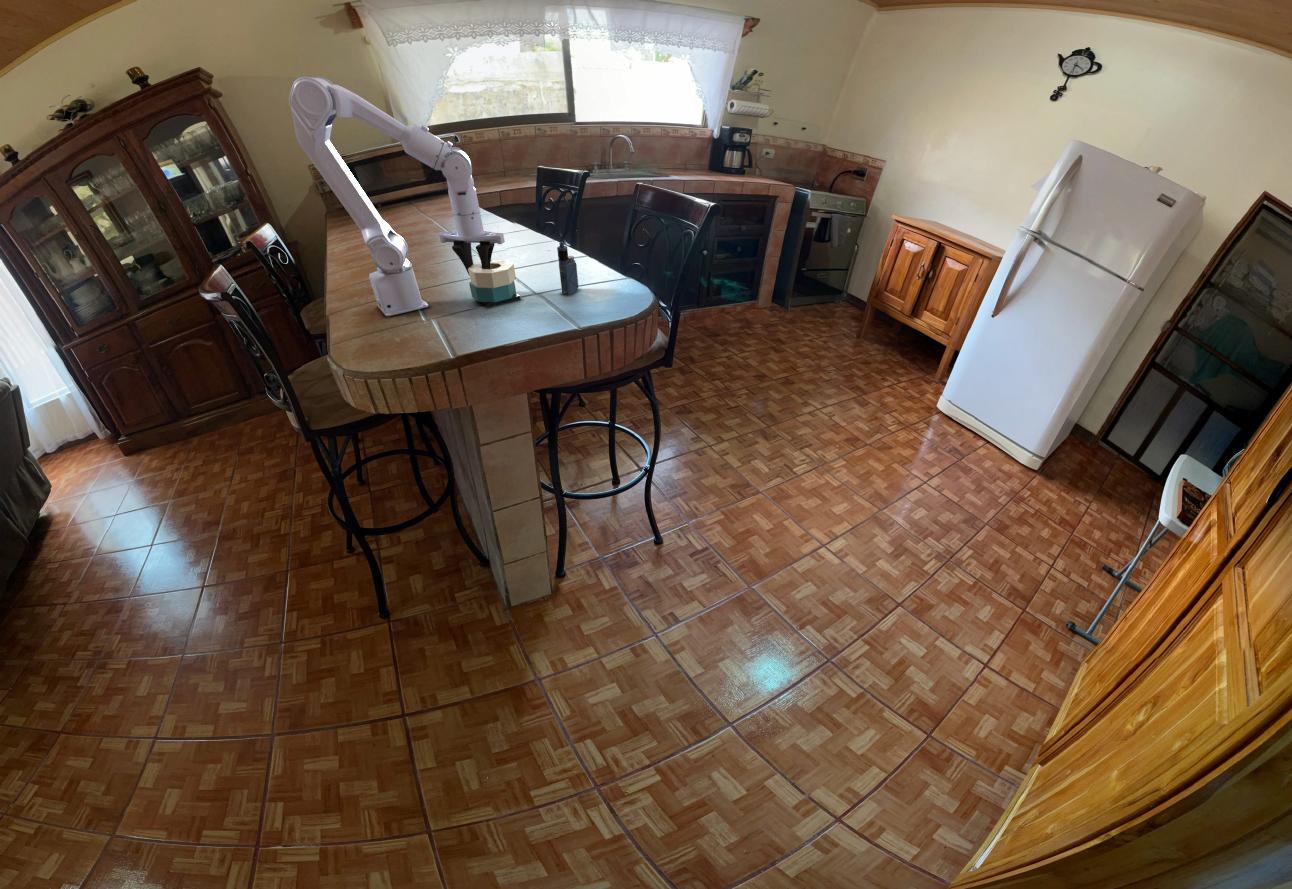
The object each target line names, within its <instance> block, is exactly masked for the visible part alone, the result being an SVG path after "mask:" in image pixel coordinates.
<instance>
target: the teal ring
mask: <svg viewBox="0 0 1292 889" xmlns="http://www.w3.org/2000/svg"><path fill="white" fill-rule="evenodd" d="M468 285H469V290H470V293H471V297H472V298H473V299H474V300H475V301H477V302H478V303H482V302H498V301H502V300H506V299H510V298H511V297H512V296H513V295H514V294H515V293H516V294H517V289H516V283H515V280H514V281H513V282H512V283H511V284H509V285H505V286H500V287H496V288H481V287H476V286H475V285H474V284H472V283H471V281H469V282H468Z"/></svg>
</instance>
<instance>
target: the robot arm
mask: <svg viewBox="0 0 1292 889" xmlns="http://www.w3.org/2000/svg"><path fill="white" fill-rule="evenodd" d="M288 104H289V107H290V110H291V113H292V118H293V120H292V121H293V126H294V132H295V137H296V140H297V142H298V144H299V146H300V147H301V149H302V150H303V151H304V153H305V154H306V155H307V157H308V158H309V160H310V161H311V162H312V164H313V166H314V167H315V168H316V170H317V171H318V173H319V174H320V175H321V176H322V178H323V179H324V181H325V182H326V184H327V185H328V187H329V188H330V189H331V191H332V192H333V194H334V195H335V196H336V198H337V199H338V200H339V202H340V203H341V205H342V207H344V209H345V211H346V212H347V213H348V214H349V216H350V217H351V219H352V220H353V222H354V223H355V224H356V226H357V227H358V229H359V230H360V231H361V235H362V238H363V241H364V244H365V246H366V247H367V248H368V250H369V252H370V256H371V257H370V258H371V260H372V262H373V264H374V265H375V266H376V269H377V270H376V271H374V272H371V273H368V278H369V283H370V286H371V288H372V291H373V294H374V297H375V301H376V304H377V307H378V308H379V309H380V311H381V312H382V313H383V314H384V315H385V317H391V316H396V315H400V314H405V313H410V312H412V311H413V312H414V311H418V310H421V309H425V308H429V304H428V303H427V302H426V301H425V300H424V299H422V296H421V292H420V289H419V285H418V282H417V279H416V274H415V272H414V267H413V264H412V262H410V261H409V260H408V258H407V256H408V252H409V246H408V243H407V242H406V240H405V239H404V237H402V236H401V235H400V234H398V233H396V232H395V230H394V229H393V228H392V227H391V225H390V224H389V223H388V222H386V221H385V220H384V219H383V218H382V216H381V215H380V213H379V212H378V210H377V209H376V208H375V206H374V204H373V203H372V201H371V200H370V199H369V197H368V196H367V194H366V192H365V191H364V190H363V188H362V187H361V185H360V184H359V182H358V181H357V179H356V178H355V177H354V175H353V173H352V172H351V171H350V169H349V167H348V166H347V164H346V163H345V161H344V160H343V159H342V157H341V156H340V154H339V153H338V151H337V150H336V148H335V147H334V145H333V144H332V142H331V139H330V138H331V133H332V128H333V123H334V122H335V120H336V119H337V118H342V119H343V118H347V119H356V120H359V121H360V122H363V123H364V124H367V125H368V126H370V127H372V128H373V129H376V130H377V131H380V132H381V133H383V134H384V135H387V136H389V137H390V138H392V139H394V140H396V141H398V142H399V143H400V144H401V146H402V148H403V150H404V152H405V154H408V155H409V156H410V157H412V158H414V159H416V160H418V161H419V162H421V163H423V164H424V165H426V166H428V167H430V168H431V169H433V170H435V171H441V172H442V175H443V176H444V178H445V179H446V183H447V188H448V190H447V192H448V197H449V203H450V207H451V211H452V214H453V219H454V225H455V228H456V231H442V232H440V233H438V236H439V241H440V243H441V244H446V243H453V245H452V246H451V249H452V251H453V252H454V253H455V254H456V256H457V257H458V258H459V260H460V261H461V263H462V264H463V266H464V268H465V270H466V272H467V274H468V276H469V277H470V275H469V271H468V268H469V267H471V266H472V265H473V264H474V258H473V254H472V253H473V252H472V244H477V245H476V246H475V250H476V252H477V254H478V257H479V260H480V262H481V264H482V269H490V264H491V260H492V256H493V252H494V248H495V246H496V245H495V244H497V245H503V244H504V243H505V241H506V240H505V236H504V233H503V232H493V231H486V230H484V225H483V221H482V220H483V219H482V215H481V210H480V204H479V198H478V196H477V189H476V188H475V182H474V178H473V176H472V174H473V168H472V167H473V166H472V163H471V159H470V158H469V156H468V155H467V153H466V152H465V151H463V150H462V149H461V148H459V147H456V146H454V147H453V143H452V142H451V141H449V140H447V142H446V141H444V140H443V139H441V138H439V137H438V136H436V135H434V134H432V133H431V132H429V130H430V129H429V127H427V126H426V125H424V124H422V125H421V126H420V125H418V124H415V123H414V124H411V125H405V124H404V123H402V122H400V121H399V120H397V119H396V118H394V117H392V116H391V115H390V114H387V113H386V112H384V111H383V110H381V109H380V108H378V107H377V106H375V105H373V104H372V103H371V102H369V101H367V100H366V99H364V98H363V97H361V96H360V95H358V94H357V93H354V91H351V90H349V89H347V88H345V87H343V86H341V85H338V84H334V83H333V82H332V81H331V80H329V79H327V78H325V77H321V76H312V77H310V76H302V77H298V78H297V79H295V80H294V82H293V83H292V85H291V89H290V92H289V97H288Z"/></svg>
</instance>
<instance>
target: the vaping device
mask: <svg viewBox="0 0 1292 889" xmlns="http://www.w3.org/2000/svg"><path fill="white" fill-rule="evenodd" d="M556 250H557V258H558V259H557V260H558V268H559V269H558V270H559V277H560V286H561V287H560V288H561V295H564V296H570V295H573V294H575V293H576V292H578V291H579V276H578V268H577V267H578V266H577V263H576V260H575V256H573V255H569V252H568V246H567V245H565V242H563V241H562V242H559V246H557V247H556Z"/></svg>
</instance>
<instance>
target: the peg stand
mask: <svg viewBox="0 0 1292 889" xmlns="http://www.w3.org/2000/svg"><path fill="white" fill-rule="evenodd" d="M517 301H521V295H520V294H518V293H517V292H516V293H515V294H514V295H513V296H512V297H511V298H510V299H506V300H502V301H498V302H481V303H483V304H484V305H485V306H486V307H488V308H493V307H498V306H502V305H505V304H510V303H513V302H517Z"/></svg>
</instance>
